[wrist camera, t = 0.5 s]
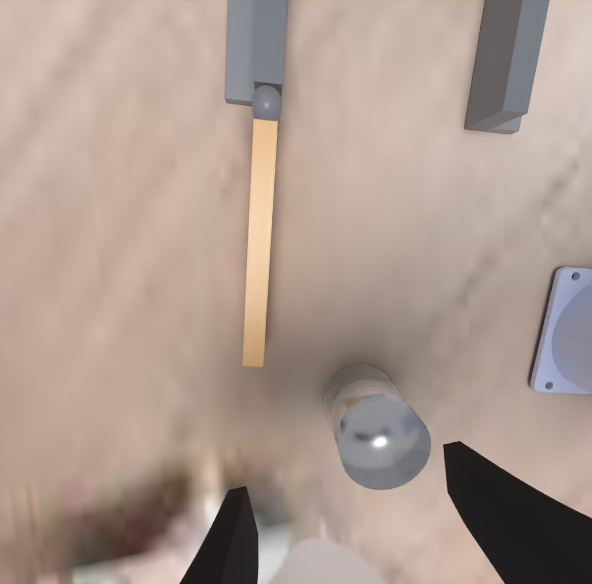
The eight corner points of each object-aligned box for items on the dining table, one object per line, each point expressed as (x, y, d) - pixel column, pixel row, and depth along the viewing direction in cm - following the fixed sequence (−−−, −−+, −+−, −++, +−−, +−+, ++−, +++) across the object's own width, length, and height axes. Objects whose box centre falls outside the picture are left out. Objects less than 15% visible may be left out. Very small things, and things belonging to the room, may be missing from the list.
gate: (255, 113, 17) (252, 83, 13) (279, 115, 17) (282, 87, 13) (245, 341, 19) (239, 368, 16) (265, 342, 19) (265, 369, 16)
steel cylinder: (397, 365, 20) (437, 409, 16) (388, 428, 21) (423, 489, 16) (327, 362, 20) (346, 407, 15) (320, 427, 21) (336, 489, 16)
